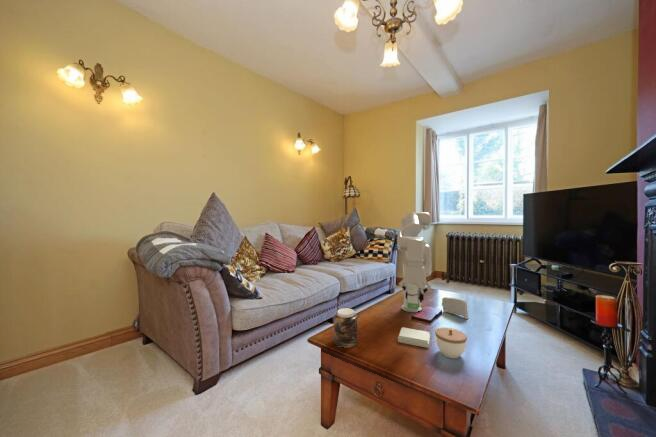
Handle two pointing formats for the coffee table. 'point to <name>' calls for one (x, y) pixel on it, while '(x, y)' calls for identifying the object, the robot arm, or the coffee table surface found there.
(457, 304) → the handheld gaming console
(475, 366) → the coffee table surface
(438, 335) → the lidded bowl
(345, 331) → the jar
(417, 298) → the ink box
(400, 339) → the stand
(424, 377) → the coffee table surface
